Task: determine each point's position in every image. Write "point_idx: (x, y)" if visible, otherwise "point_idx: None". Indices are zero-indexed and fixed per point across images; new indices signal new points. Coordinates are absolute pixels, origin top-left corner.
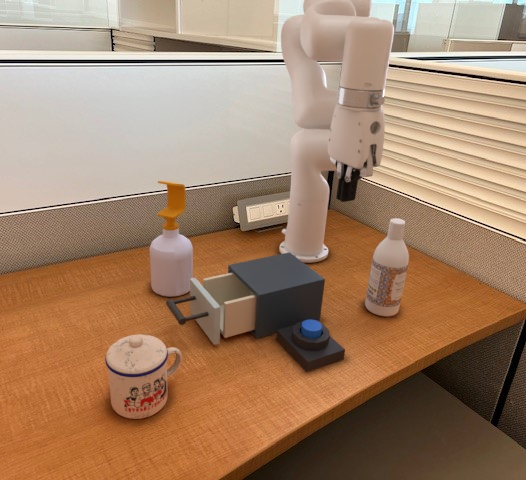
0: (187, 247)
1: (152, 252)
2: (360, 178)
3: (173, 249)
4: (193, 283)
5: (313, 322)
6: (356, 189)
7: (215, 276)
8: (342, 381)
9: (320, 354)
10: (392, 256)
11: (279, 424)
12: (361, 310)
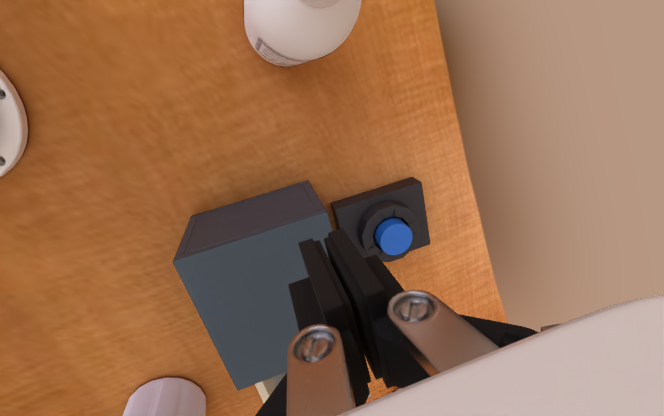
0: None
1: None
2: (436, 301)
3: None
4: None
5: (390, 235)
6: (359, 253)
7: (263, 399)
8: (450, 195)
9: (421, 222)
10: (354, 21)
11: (483, 282)
12: (284, 78)
